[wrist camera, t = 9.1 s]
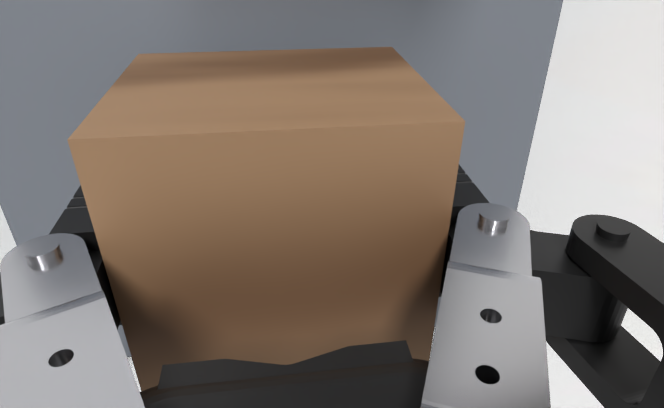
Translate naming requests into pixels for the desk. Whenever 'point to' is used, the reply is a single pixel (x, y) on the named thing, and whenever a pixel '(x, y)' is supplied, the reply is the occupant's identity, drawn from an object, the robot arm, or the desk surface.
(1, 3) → the slate gray board
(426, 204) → the walnut block
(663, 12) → the desk surface
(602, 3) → the desk surface
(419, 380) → the robot arm
